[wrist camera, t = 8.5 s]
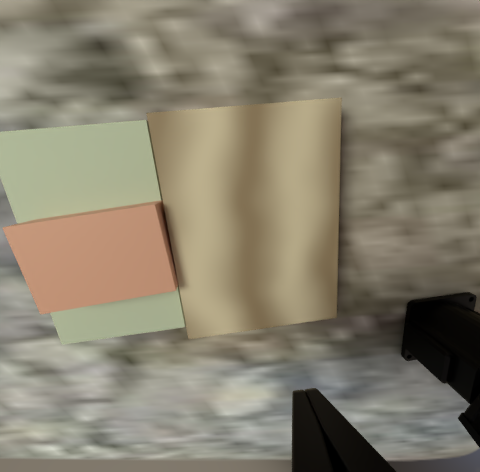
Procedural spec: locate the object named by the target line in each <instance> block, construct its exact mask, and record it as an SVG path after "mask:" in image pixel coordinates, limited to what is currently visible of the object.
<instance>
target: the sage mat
mask: <svg viewBox="0 0 480 472" xmlns="http://www.w3.org/2000/svg"><path fill="white" fill-rule="evenodd" d="M0 178H1V181H2V183H3V186H4V189H5V191H6V194H7V197H8V200H9V202H10V205H11V208H12V210H13V213H14V216H15V219H16V221H17V224H19V223H23V222H27V221H31V220H35V219H42V218H48V217H55V216H62V215H68V214H75V213H81V212H88V211H94V210H101V209H108V208H114V207H121V206H127V205H134V204H141V203H147V202H154V201H160V200H162V194H161V189H160V184H159V178H158V173H157V168H156V162H155V157H154V151H153V146H152V141H151V135H150V130H149V125H148V121H147V120H140V121H128V122H116V123H104V124H91V125H79V126H67V127H55V128H42V129H30V130H18V131H6V132H0ZM50 314H51V316H52V319H53V322H54V325H55V327H56V330H57V333H58V336H59V338H60V341H61V344H69V343H76V342H83V341H90V340H97V339H104V338H111V337H118V336H126V335H133V334H140V333H147V332H154V331H161V330H168V329H175V328H182V327H185V325H186V323H185V318H184V313H183V307H182V302H181V296H180V291H179V286H177V289H176V291H172V292H166V293H161V294H155V295H149V296H143V297H138V298H132V299H126V300H120V301H115V302H109V303H103V304H97V305H92V306H86V307H80V308H74V309H69V310H63V311H57V312H51V313H50Z"/></svg>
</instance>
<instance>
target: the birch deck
mask: <svg viewBox="0 0 480 472" xmlns="http://www.w3.org/2000/svg"><path fill="white" fill-rule="evenodd" d="M341 101H342V98H331V99H318V100H306V101H293V102H281V103H268V104H256V105H243V106H231V107H218V108H206V109H193V110H180V111H168V112H155V113H147V118H148V123H149V129H150V134H151V139H152V145H153V150H154V156H155V161H156V166H157V172H158V177H159V182H160V188H161V193H162V199H163V204H164V209H165V215H166V220H167V225H168V231H169V236H170V242H171V247H172V252H173V258H174V263H175V268H176V274H177V279H178V285H179V290H180V295H181V301H182V306H183V311H184V317H185V322H186V328H187V333H188V338H189V339H194V338H201V337H208V336H215V335H222V334H228V333H235V332H242V331H249V330H256V329H263V328H269V327H276V326H283V325H290V324H297V323H304V322H311V321H317V320H324V319H331V318H337V280H338V236H339V191H340V146H341Z"/></svg>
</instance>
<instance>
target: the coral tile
mask: <svg viewBox="0 0 480 472" xmlns="http://www.w3.org/2000/svg"><path fill="white" fill-rule="evenodd" d="M3 230H4V232H5V235H6V237H7V239H8V242H9V244H10V246H11V248H12V251H13V253H14V255H15V257H16V260H17V262H18V264H19V266H20V269H21V271H22V273H23V276H24V278H25V280H26V282H27V285H28V287H29V289H30V291H31V294H32V296H33V298H34V300H35V303H36V305H37V307H38V310H39V312H40V314H46V313H51V312H57V311H63V310H69V309H74V308H80V307H86V306H92V305H97V304H103V303H109V302H115V301H120V300H126V299H132V298H138V297H143V296H149V295H155V294H161V293H166V292H172V291H176V289H177V286H178V279H177V274H176V268H175V263H174V258H173V252H172V247H171V242H170V236H169V231H168V225H167V220H166V215H165V209H164V204H163V200H160V201H154V202H147V203H141V204H134V205H127V206H121V207H114V208H108V209H101V210H94V211H88V212H81V213H75V214H68V215H62V216H55V217H48V218H42V219H35V220H31V221H27V222H23V223H19V224H15V225H11V226H7V227H3Z"/></svg>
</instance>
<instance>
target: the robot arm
mask: <svg viewBox="0 0 480 472" xmlns="http://www.w3.org/2000/svg"><path fill="white" fill-rule="evenodd" d="M475 302H476V295H474V294H472V293H470V292H467V293H460V294H453V295H446V296H439V297H432V298H426V299H419V300H412V301H410V302H409V303H408V304H407V311H406V319H405V328H404V336H403V345H402V353H401V355H402V357H403V358H404V359H405V360H406V361H411V360H418V361H419V362H420V363H421V364H423V365H424V366H425V367H426V368H427V369H428V370H429V371H430V372H431V373H432V374H433V375H434V376H435V377H437V378H438V379H439V380H440V381H441V382H442V383H448V384H449V385H450V386H451V387H452V388H453V389H454V390H455V391H456V392H457V393H459V394H460V395H461V396H462V397H463V398H464V399H465V400H466V401H467V402H468V403H470V405H469V407H468V408H467V409H466V411H465V412H464V413H461V414H460V416H459V417H458V419H459V421H460V422H461V423H462V424H463V426H464V427H465V428H466V430H467V431H468V433H469V434H470V435H471V437H472V438H473V439H474V441H475V442H476V443H477V445H478V446H479V447H480V314H479V313H478V312H476V311H474V307H475ZM292 472H396V471H395V470H394V469H393V468H392V467H391V466H390V464H389V463H388V462H387V461H386V460H385V459H384V458H383V457H382V456H381V455H380V454H379V453H378V452H377V451H376V450H375V449H374V448H373V447H372V446H371V445H370V444H369V443H368V442H367V440H366V439H365V438H364V437H363V436H362V435H361V434H360V433H359V432H358V431H357V430H356V429H355V428H354V427H353V426H352V425H351V424H350V423H349V422H348V421H347V420H346V419H345V418H344V416H343V415H342V414H341V413H340V412H339V411H338V410H337V409H336V408H335V407H334V406H333V405H332V404H331V403H330V402H329V401H328V400H327V399H326V398H325V397H324V396H323V395H322V394H321V393H320V391H319V390H318V389H316V388H311V389H305V391H304V390H296V391H293V400H292Z"/></svg>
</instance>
